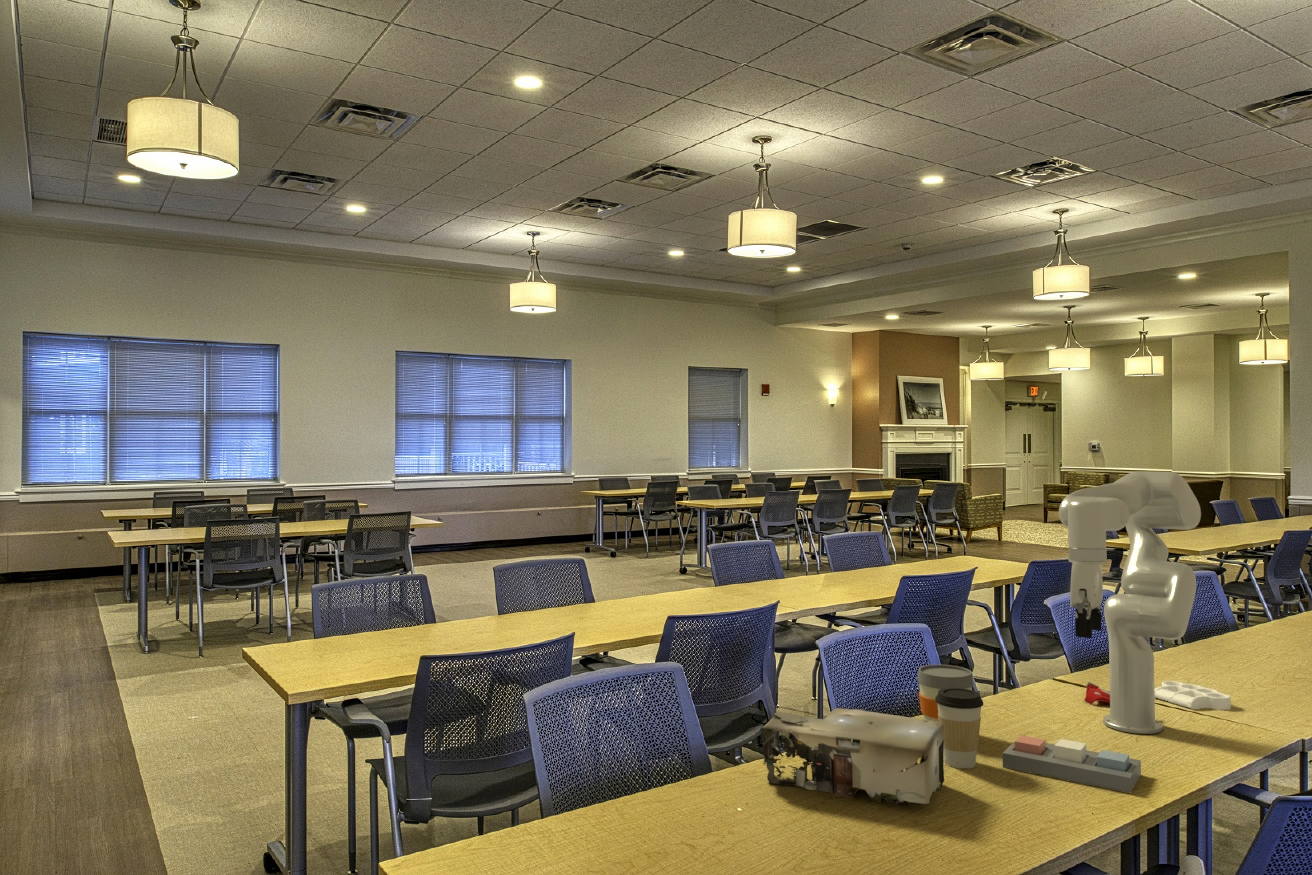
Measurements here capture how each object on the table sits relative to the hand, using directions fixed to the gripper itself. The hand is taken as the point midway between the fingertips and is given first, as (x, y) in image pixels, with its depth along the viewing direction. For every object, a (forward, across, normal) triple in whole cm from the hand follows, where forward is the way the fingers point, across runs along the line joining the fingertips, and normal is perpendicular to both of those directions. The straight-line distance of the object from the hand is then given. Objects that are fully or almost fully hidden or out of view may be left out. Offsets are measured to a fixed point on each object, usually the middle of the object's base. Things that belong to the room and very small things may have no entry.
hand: (1088, 633), depth 194 cm
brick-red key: (+26, +14, -9) cm, 30 cm away
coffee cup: (+26, +23, -21) cm, 41 cm away
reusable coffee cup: (+26, +6, -30) cm, 40 cm away
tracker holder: (+27, -46, -7) cm, 53 cm away
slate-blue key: (+25, +14, +7) cm, 30 cm away
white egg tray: (+27, -58, +12) cm, 66 cm away
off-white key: (+25, +14, -1) cm, 28 cm away
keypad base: (+26, +14, -1) cm, 30 cm away
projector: (+27, +50, -32) cm, 65 cm away
